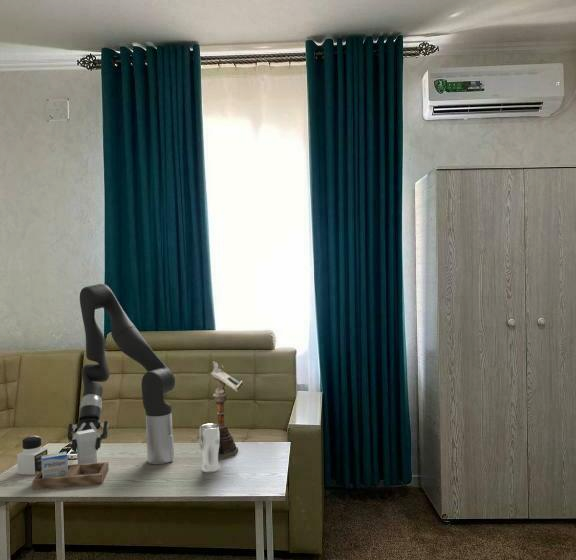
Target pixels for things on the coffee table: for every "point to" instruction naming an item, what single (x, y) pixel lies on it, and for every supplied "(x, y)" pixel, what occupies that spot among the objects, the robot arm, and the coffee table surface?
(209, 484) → the coffee table surface
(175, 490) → the coffee table surface
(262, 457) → the coffee table surface
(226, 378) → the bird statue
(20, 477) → the coffee table surface
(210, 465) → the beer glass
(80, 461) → the skincare box
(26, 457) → the medicine bottle
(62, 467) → the medicine box
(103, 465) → the walnut pocket rack
